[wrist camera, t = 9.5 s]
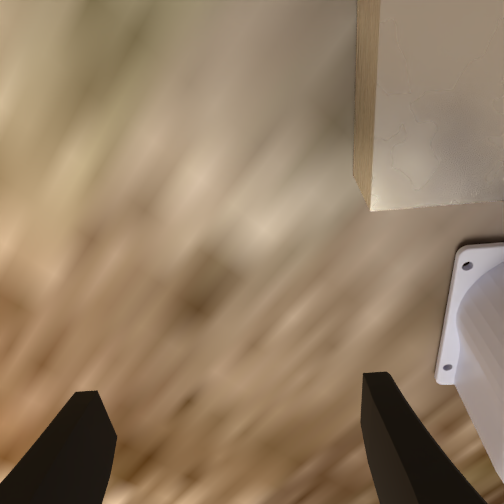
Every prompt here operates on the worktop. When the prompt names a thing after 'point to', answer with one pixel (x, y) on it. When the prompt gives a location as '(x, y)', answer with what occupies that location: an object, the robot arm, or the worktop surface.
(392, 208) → the housing
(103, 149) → the worktop surface
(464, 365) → the robot arm
